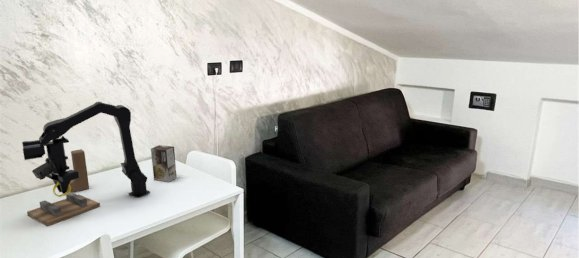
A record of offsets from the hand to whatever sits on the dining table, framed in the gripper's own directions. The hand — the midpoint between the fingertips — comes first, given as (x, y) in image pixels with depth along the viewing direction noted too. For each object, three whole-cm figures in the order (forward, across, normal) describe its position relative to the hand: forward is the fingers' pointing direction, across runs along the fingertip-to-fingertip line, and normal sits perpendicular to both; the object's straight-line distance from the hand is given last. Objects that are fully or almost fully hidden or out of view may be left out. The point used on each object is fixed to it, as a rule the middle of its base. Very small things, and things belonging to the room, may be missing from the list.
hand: (62, 192), depth 149 cm
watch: (+1, 0, 0) cm, 1 cm away
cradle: (+8, 0, 0) cm, 8 cm away
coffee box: (+8, +5, +45) cm, 46 cm away
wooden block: (+8, -17, +14) cm, 23 cm away
